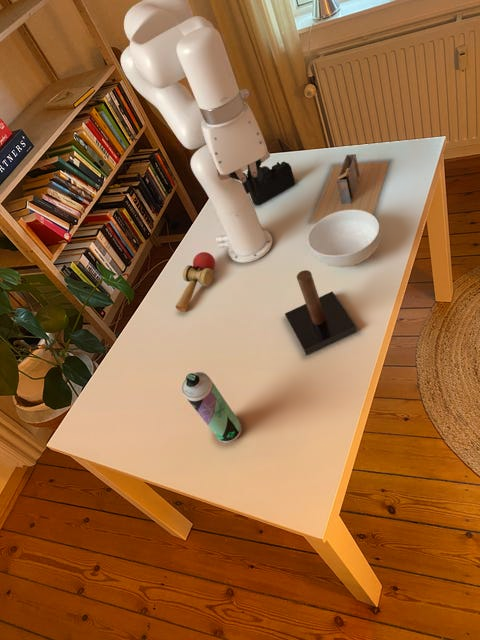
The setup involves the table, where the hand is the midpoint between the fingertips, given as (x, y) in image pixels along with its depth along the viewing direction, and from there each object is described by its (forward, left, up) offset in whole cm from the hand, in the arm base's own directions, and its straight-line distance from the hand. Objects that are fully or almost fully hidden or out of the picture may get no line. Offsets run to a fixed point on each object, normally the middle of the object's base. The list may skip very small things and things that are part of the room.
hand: (254, 192), depth 98 cm
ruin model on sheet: (+12, +36, -29) cm, 48 cm away
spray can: (-7, -38, -29) cm, 49 cm away
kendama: (-26, +3, -29) cm, 39 cm away
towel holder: (+5, -13, -21) cm, 25 cm away
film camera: (-13, +42, -29) cm, 53 cm away
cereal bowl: (+13, +11, -29) cm, 34 cm away
